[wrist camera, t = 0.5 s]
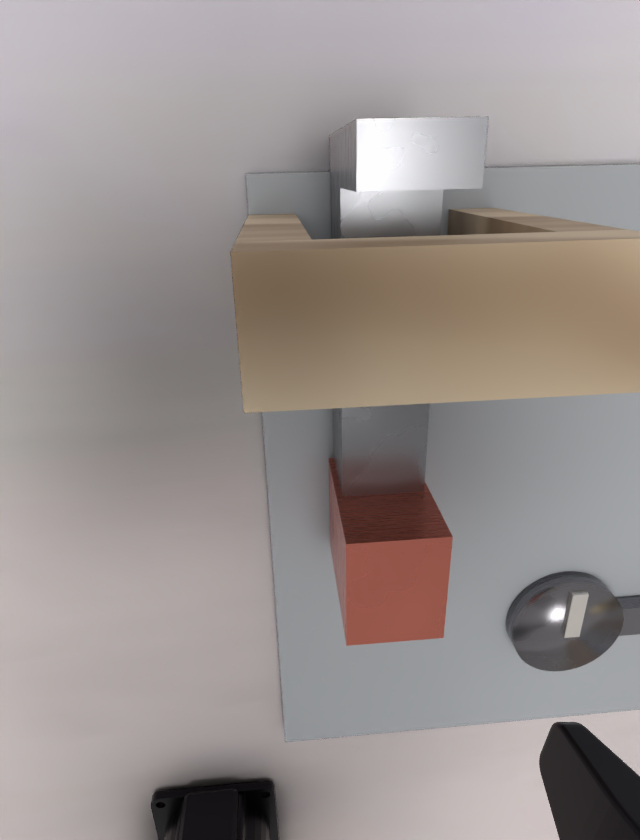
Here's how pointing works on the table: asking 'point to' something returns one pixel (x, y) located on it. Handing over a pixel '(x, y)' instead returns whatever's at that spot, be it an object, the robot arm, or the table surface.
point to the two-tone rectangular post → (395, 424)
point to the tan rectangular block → (435, 312)
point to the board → (464, 515)
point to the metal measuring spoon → (568, 620)
